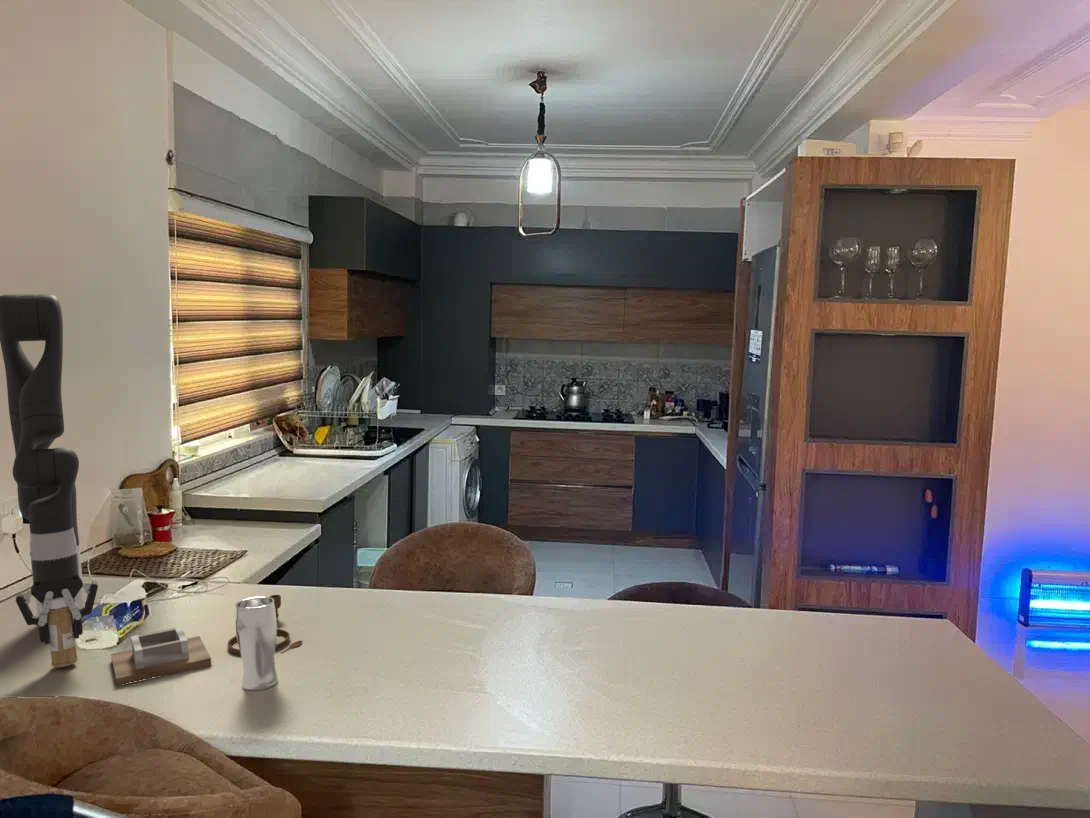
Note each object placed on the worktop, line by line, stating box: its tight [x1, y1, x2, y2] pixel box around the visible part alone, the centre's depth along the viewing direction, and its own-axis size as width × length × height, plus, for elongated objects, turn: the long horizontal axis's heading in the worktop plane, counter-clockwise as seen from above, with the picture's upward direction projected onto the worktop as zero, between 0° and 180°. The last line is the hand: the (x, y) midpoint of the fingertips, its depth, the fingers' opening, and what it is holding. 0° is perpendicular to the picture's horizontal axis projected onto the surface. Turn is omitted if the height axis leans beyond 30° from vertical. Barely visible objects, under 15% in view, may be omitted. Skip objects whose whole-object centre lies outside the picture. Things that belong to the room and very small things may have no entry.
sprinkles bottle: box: [47, 597, 79, 668], centre depth 156 cm, size 5×5×13 cm
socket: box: [110, 626, 212, 687], centre depth 157 cm, size 14×16×5 cm
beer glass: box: [234, 596, 279, 692], centre depth 145 cm, size 7×7×15 cm
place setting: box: [227, 594, 303, 656], centre depth 169 cm, size 18×20×6 cm
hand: (61, 640), depth 156 cm, fingers closed on sprinkles bottle, 4 cm apart
